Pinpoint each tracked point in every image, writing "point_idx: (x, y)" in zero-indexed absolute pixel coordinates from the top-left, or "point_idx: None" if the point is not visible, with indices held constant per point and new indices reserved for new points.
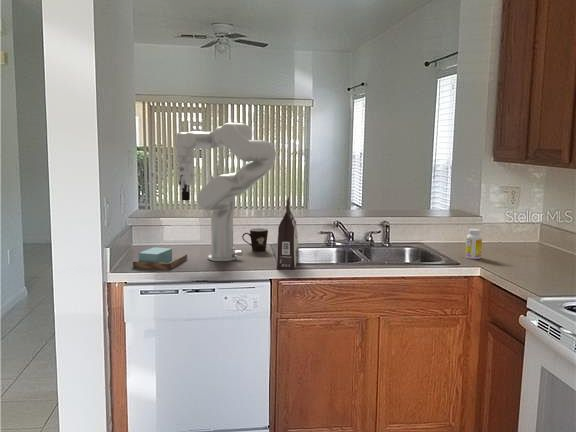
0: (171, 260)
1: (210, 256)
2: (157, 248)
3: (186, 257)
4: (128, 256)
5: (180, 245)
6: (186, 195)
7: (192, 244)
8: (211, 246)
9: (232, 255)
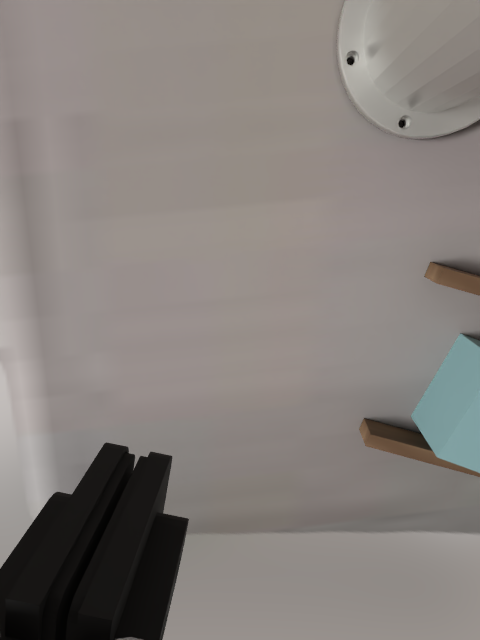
0: (471, 339)
1: (442, 119)
2: (475, 437)
3: (445, 267)
4: (306, 525)
5: (43, 336)
6: (173, 571)
7: (6, 274)
8: (473, 96)
9: None
